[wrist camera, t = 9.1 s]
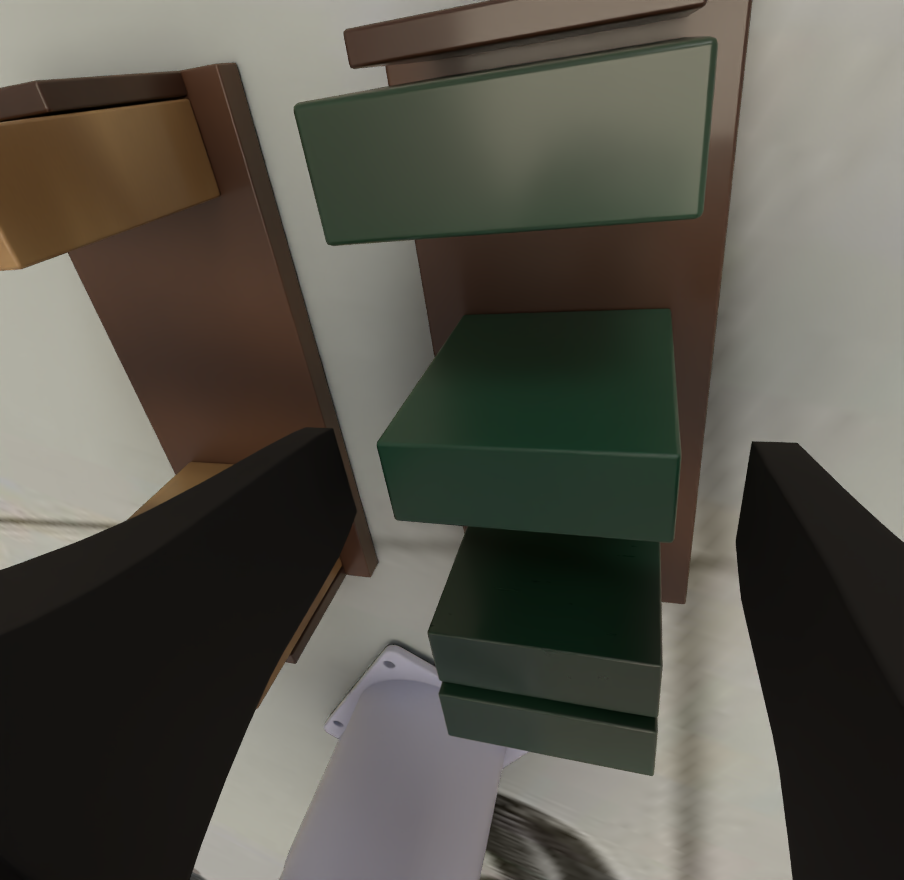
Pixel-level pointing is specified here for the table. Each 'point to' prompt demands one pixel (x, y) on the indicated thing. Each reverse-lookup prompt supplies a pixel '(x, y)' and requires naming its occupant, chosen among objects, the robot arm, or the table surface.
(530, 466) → the green book
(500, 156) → the green rack
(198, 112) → the tan rack
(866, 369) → the table surface
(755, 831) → the table surface
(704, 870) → the table surface
